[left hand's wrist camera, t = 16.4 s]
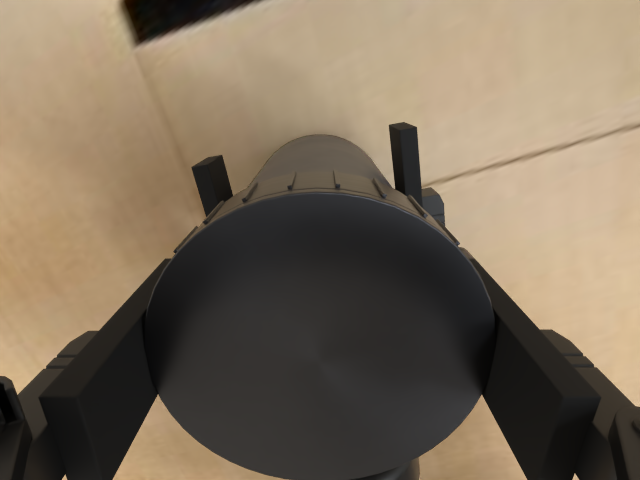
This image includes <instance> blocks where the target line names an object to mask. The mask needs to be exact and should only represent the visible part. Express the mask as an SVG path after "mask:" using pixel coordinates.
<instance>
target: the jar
mask: <svg viewBox="0 0 640 480" xmlns="http://www.w3.org/2000/svg"><path fill="white" fill-rule="evenodd" d="M333 170H337V172H341V173H347V174H352V175H358V176H362V177H365V178H368V179H371V180H373V178H376V179H377V180H378V181H379V182H381V183H383V184H385V185H387V186H389V187H391V185H390V184H389V183H388V181H387V180H386V179H385V177H384V176H383V175H382V173H381V172H380V171H379V169H378V168H377V167H376V165H375V164H374V162H373V161H372V160H371V158H370V157H369V156H368V155H367V154H366V153H365V152H364V151H363V150H361V149H360V148H359V147H358V146H356V145H354V144H353V143H351V142H349V141H347V140H345V139H342V138H339V137H335V136H330V135H310V136H304V137H301V138H297V139H295V140H293V141H291V142H289V143H287V144H285V145H284V146H282V147H281V148H280V149H278V150H277V151H276V152H275V153H274V154H273V155H272V156H271V157H270V158H269V160H268V161H267V162H266V164H265V165H264V166H263V168H262V169H261V170H260V172H259V173H258V174H257V176H256V177H255V178H254V180H253V181H252V183H251V184H250V185H249V187H251V185H252V184H253V182H256V181H257V183H260V182H263V181H266V180H268V179H271V178H274V177H279V176H283V175H288V174H291V173H292V171H296V173H300V172H311V171H327V172H333ZM249 187H248V188H249ZM391 188H392V187H391Z"/></svg>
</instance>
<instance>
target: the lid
mask: <svg viewBox="0 0 640 480" xmlns="http://www.w3.org/2000/svg"><path fill="white" fill-rule="evenodd" d="M459 244H460V243H459V242H458V241H457V239H456V238H455V237H454V236H453V235H452V234H451V233H450V232H449V231H448V230H447V229H446V227H445V226H444V225H443V224H442V223H441V222H440V221H439V220H438V219H437V220H434V219H433V218H432V216H431V215H430V214H428V213H427V212H426V211H425V210H424V209H423V208H422V207H421V206H420V205H419V204H418V203H417V202H416V201H415V199H414V198H413V197H412V196H411V195H409V196H408V197H407V196H405V195H404V194H402V193H401V192H399V191H397V190H395V189H393V188H391V187H389V186H387V185H385V184H383V183H381V182H379V181H378V180H377V179H376V178H373V180H371V179H368V178H365V177H362V176H358V175H352V174H347V173H341V172H337V170H333V172H327V171H311V172H300V173H296V171H292V173H291V174H288V175H283V176H279V177H274V178H271V179H268V180H266V181H263V182H260V183H257V181H256V182H253V184H252V185H251V187H249V188H247V189H245V190H243V191H241V192H239V193H237V194H236V195H234V196H233V197H231V198H230V199H229V200H227V201H226V202H224V201H223V200H222V201H221V202H220V203H219V204H218V205H217V206H216V207H215V209H214V210H213V211H212V212H211V213H210V214H209V215H208V216H207V218H206V219H205V220H204V221H203V223H202V224H201V225H200V226H199V227H197V226H196V227H195V228H194V229H193V230H192V231H191V232H190V234H189V235H188V236H187V237H186V238H185V239H184V240H183V241H182V242H181V243H180V245H179V246H178V247H177V248H176V249H175V250H174V253H176V254H175V255H174V256H173V258H172V259H171V260H170V262H169V263H168V264H167V266H166V267H165V268H164V270H163V272H162V274H161V276H160V277H159V279H158V281H157V283H156V285H155V287H154V289H153V292H152V295H151V298H150V301H149V304H148V307H147V313H146V319H145V325H144V348H145V354H146V359H147V364H148V368H149V372H150V375H151V379H152V382H153V384H154V386H155V388H156V390H157V392H158V394H159V396H160V398H161V400H162V402H163V403H164V405H165V406H166V408H167V409H168V411H169V412H170V414H171V415H172V416H173V417H174V418H175V419H176V421H177V422H178V423H179V424H180V425H181V426H182V427H183V429H184V430H186V431H187V432H188V433H189V434H190V435H191V436H192V437H193V438H195V439H196V440H197V441H198V442H199V443H201V444H202V445H204V446H205V447H206V448H208V449H209V450H211V451H212V452H214V453H216V454H217V455H219V456H221V457H223V458H224V459H226V460H228V461H230V462H232V463H235V464H237V465H239V466H242V467H244V468H246V469H249V470H252V471H255V472H258V473H262V474H265V475H269V476H273V477H278V478H283V479H289V480H350V479H357V478H363V477H367V476H371V475H375V474H379V473H382V472H385V471H388V470H390V469H393V468H396V467H399V466H401V465H403V464H405V463H407V462H409V461H412V460H414V459H416V458H417V457H419V456H421V455H422V454H424V453H426V452H427V451H429V450H431V449H432V448H434V447H435V446H436V445H438V444H439V443H440V442H442V441H443V440H444V439H445V438H447V437H448V436H449V435H450V434H451V433H452V432H453V431H454V430H455V429H456V428H457V427H458V426H459V425H460V424H461V423H462V422H463V421H464V419H465V418H466V417H467V416H468V414H469V413H470V412H471V411H472V409H473V408H474V406H475V404H476V403H477V401H478V400H479V398H480V396H481V395H482V393H483V390H484V388H485V386H486V383H487V381H488V379H489V376H490V371H491V367H492V362H493V358H494V352H495V345H496V329H495V318H494V313H493V309H492V304H491V300H490V298H489V295H488V293H487V290H486V288H485V285H484V283H483V280H482V279H481V276H480V274H479V273H478V271H477V270H476V269H475V267H474V266H473V264H472V262H471V261H470V260H469V259H468V258H467V256H466V255H465V254H464V253H463V252H462V251H461V249H460V248H459V247H458V245H459Z"/></svg>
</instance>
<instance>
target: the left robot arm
mask: <svg viewBox="0 0 640 480" xmlns="http://www.w3.org/2000/svg"><path fill="white" fill-rule="evenodd" d="M170 260H171V259H165V260H164V261H163V262H162V263H161V264H160V265H159V266H158V267H157V268H156V269H155V270H154V272H153V273H152V274H151V275H150V276H149V277H148V278H147V279H146V280H145V281H144V282H143V284H142V285H141V286H140V287H139V288H138V289H137V290H136V291H135V292H134V293H133V294H132V295H131V297H130V298H129V299H128V300H127V301H126V302H125V303H124V304H123V305H122V306H121V307H120V309H119V310H118V311H117V312H116V313H115V314H114V315H113V316H112V317H111V318H110V319H109V321H108V322H107V323H106V324H105V325H104V326H103V327H102V328H101V329H100V330H99V331H87V332H86V333H84V334H83V335H81V336H79V337H78V338H76V339H74V340H73V341H71V342H70V343H69V344H68V345H67V346H66V347H65V348H64V349H63V350H62V351H61V352H60V353H59V354H58V355H57V358H54V359H53V360H52V361H51V362H50V363H49V364H48V365H47V366H46V369H43V370H42V371H41V372H40V373H39V374H38V375H37V376H36V377H35V378H34V379H33V380H32V381H31V382H30V383H29V384H28V385H27V386H26V387H25V388H24V389H23V390H22V391H21V392H20V393H19V394H18V395H17V393H16V390H15V388H14V385H13V382H12V380H10V379H8V378H7V377H5V376H0V480H62V478H63V477H64V475H65V474H66V477H67V480H112V479H113V477H114V476H115V474H116V472H117V470H118V468H119V466H120V464H121V462H122V461H123V459H124V457H125V455H126V453H127V451H128V449H129V447H130V446H131V444H132V442H133V440H134V438H135V436H136V434H137V432H138V431H139V429H140V427H141V425H142V423H143V421H144V419H145V417H146V416H147V414H148V412H149V410H150V408H151V406H152V404H153V402H154V401H155V399H156V397H157V395H158V392H157V390H156V388H155V386H154V384H153V382H152V379H151V375H150V372H149V368H148V364H147V359H146V354H145V348H144V325H145V319H146V313H147V307H148V304H149V301H150V298H151V295H152V292H153V289H154V287H155V285H156V283H157V281H158V279H159V277H160V276H161V274H162V272H163V270H164V268H165V267H166V266H167V264H168V263H169V262H170ZM469 260H470V261H471V262H472V264H473V266H474V267H475V269H476V270H477V271H478V273H479V274H480V276H481V279H482V280H483V283H484V285H485V288H486V290H487V293H488V295H489V298H490V300H491V304H492V309H493V313H494V318H495V329H496V345H495V352H494V358H493V362H492V367H491V371H490V376H489V379H488V381H487V383H486V386H485V388H484V390H483V393H482V395H483V397H484V399H485V401H486V403H487V405H488V407H489V408H490V410H491V412H492V414H493V416H494V418H495V420H496V422H497V423H498V425H499V427H500V429H501V431H502V433H503V435H504V437H505V438H506V440H507V442H508V444H509V446H510V448H511V450H512V452H513V454H514V455H515V457H516V459H517V461H518V463H519V465H520V467H521V469H522V470H523V472H524V474H525V476H526V478H527V480H572V479H573V476H574V473H575V474H576V475H577V477H578V478H579V480H640V407H637V406H635V405H634V404H633V403H632V402H631V401H630V400H629V399H628V398H627V397H626V396H625V395H624V394H623V393H622V392H621V391H620V390H619V389H618V388H617V387H616V386H615V385H614V384H613V383H612V382H611V381H610V380H609V379H608V378H607V377H606V376H605V375H604V374H603V373H602V372H601V371H600V370H599V369H598V368H594V364H593V363H592V362H591V361H590V360H589V359H588V358H587V357H586V356H583V353H582V352H581V351H580V350H579V349H578V348H577V347H576V346H575V345H574V344H573V343H572V342H571V341H569V340H568V339H566V338H565V337H563V336H561V335H560V334H558V333H556V332H555V331H553V330H539V328H538V327H537V326H536V325H535V324H534V323H533V322H532V321H531V320H530V319H529V318H528V316H527V315H526V314H525V313H524V312H523V311H522V310H521V309H520V308H519V307H518V306H517V304H516V303H515V302H514V301H513V300H512V299H511V298H510V297H509V296H508V295H507V294H506V292H505V291H504V290H503V289H502V288H501V287H500V286H499V285H498V284H497V283H496V282H495V281H494V279H493V278H492V277H491V276H490V275H489V274H488V273H487V272H486V271H485V270H484V269H483V267H482V266H481V265H480V264H479V263H478V262H477V261H476V260H475V259H469Z"/></svg>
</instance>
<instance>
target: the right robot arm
mask: <svg viewBox="0 0 640 480" xmlns="http://www.w3.org/2000/svg"><path fill="white" fill-rule="evenodd" d="M389 131H390V141H391V151H392V161H393V170H394V180H395V190H397V191H399V192H401V193H402V194H404V195H405V196H407V197H408V196H409V195H411V196H412V197H413V198H414V199H415V201H416V202H417V203H418V204H419V205H420V206H421V207H422V208H423V209H424V210H425V211H426V212H427V213H428V214H430V215H431V216H432V218H433V219H434V220H437V219H438V220H439V221H440V222H441V223H442V224H443V225H444V226H445V217H444V203H443V201H442V199H441V197H440V195H439V194H438V193H437V192H436V191H435V190H433V189H432V188H425V189H421V177H420V164H419V151H418V137H417V127H415V126H412V125H410V124H407V123H405V122H402V123H397V124H391V125H389ZM192 171H193V174H194V177H195V181H196V184H197V187H198V191H199V194H200V197H201V201H202V204H203V207H204V211H205V214H206V217H207V216H208V215H209V214H210V213H211V212H212V211H213V210H214V209H215V207H216V206H217V205H218V204H219V203H220V202H221V201H222V200H223V201H224V202H226V201H227V200H229V199H230V198H231V197H233V194H232V190H231V186H230V183H229V179H228V175H227V171H226V168H225V164H224V160H223V157H222V155H219V156H213V157H208V158H206V159H205V160H203V161H201V162H200V163H198V164H196V165H195V166H193V167H192ZM459 248H460V249H461V251H462V252H463V253H464V254H465V255H466V256H467V258H468V259H474V257H473V256H472V255H471V254H470V253H469V252H468V251H467V250H466V249H464V248H461V247H459ZM483 269H484V268H483ZM350 480H421V479H420V469H419V459H418V457H417V458H416V459H414V460H412V461H409V462H407V463H405V464H403V465H401V466H399V467H396V468H393V469H390V470H388V471H385V472H382V473H379V474H375V475H371V476H367V477H363V478H357V479H350Z"/></svg>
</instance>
